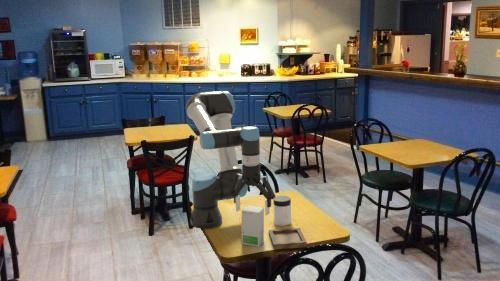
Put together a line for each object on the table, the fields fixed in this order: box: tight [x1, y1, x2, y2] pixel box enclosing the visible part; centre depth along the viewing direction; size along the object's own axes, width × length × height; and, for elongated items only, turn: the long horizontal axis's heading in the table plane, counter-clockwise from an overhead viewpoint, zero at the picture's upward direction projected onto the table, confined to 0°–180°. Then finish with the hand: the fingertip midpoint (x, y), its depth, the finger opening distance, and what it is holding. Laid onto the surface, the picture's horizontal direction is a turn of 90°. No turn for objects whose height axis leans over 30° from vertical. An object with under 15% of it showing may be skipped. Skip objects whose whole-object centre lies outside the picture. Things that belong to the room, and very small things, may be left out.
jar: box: [272, 195, 292, 227], centre depth 220 cm, size 9×8×12 cm
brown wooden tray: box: [268, 227, 308, 250], centre depth 202 cm, size 14×15×2 cm
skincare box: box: [241, 204, 265, 248], centre depth 200 cm, size 8×7×16 cm
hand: (252, 212), depth 198 cm, fingers open, 13 cm apart
